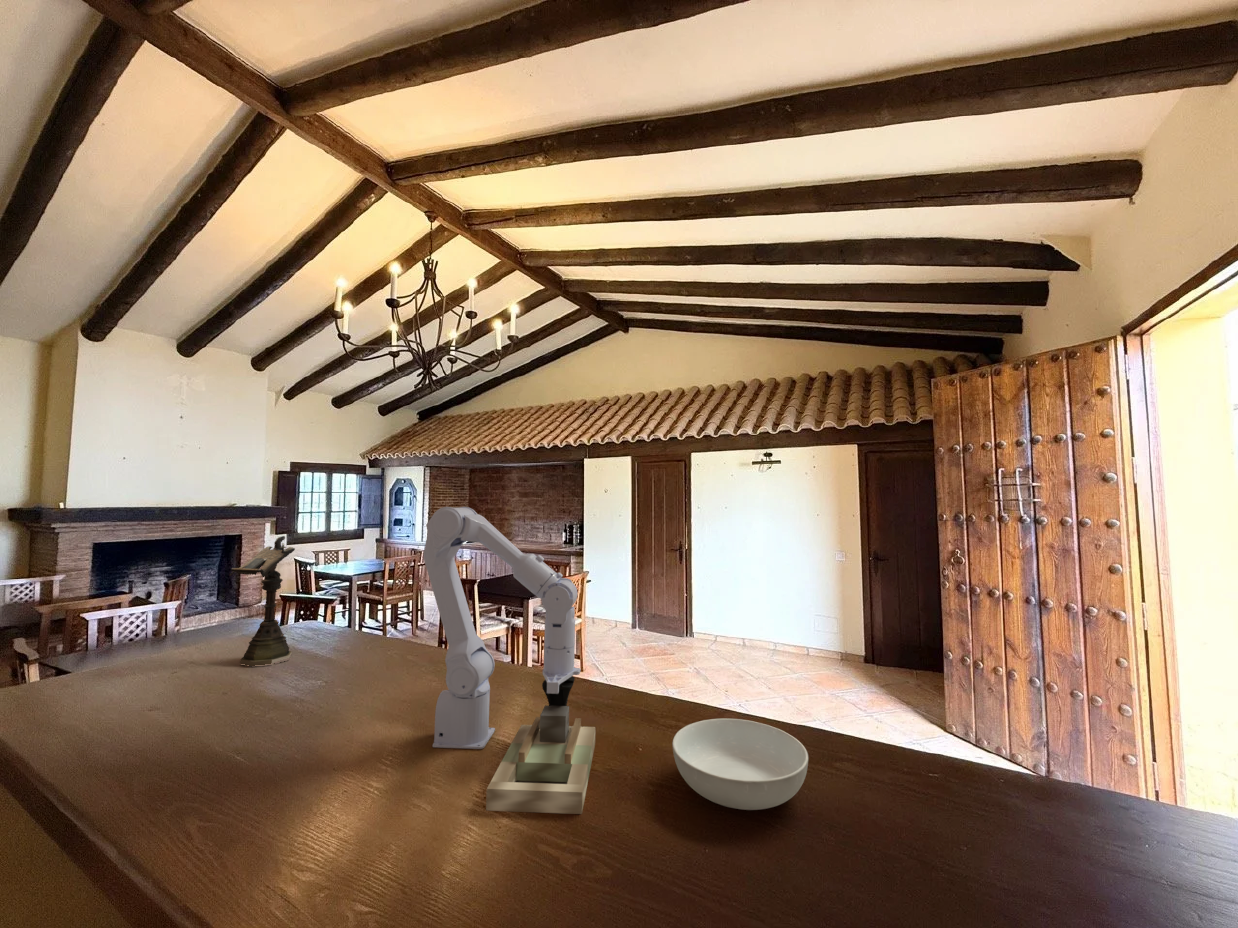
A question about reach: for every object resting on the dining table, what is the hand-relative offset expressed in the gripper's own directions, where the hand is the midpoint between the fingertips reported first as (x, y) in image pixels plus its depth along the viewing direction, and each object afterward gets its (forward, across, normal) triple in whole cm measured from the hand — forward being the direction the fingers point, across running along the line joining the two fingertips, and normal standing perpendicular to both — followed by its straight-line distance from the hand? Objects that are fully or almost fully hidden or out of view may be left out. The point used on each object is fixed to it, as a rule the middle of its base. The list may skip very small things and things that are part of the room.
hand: (557, 719), depth 96 cm
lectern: (+4, +42, +89) cm, 98 cm away
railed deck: (+4, -10, 0) cm, 11 cm away
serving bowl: (+5, -13, -31) cm, 34 cm away
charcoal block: (+1, -4, 0) cm, 4 cm away
